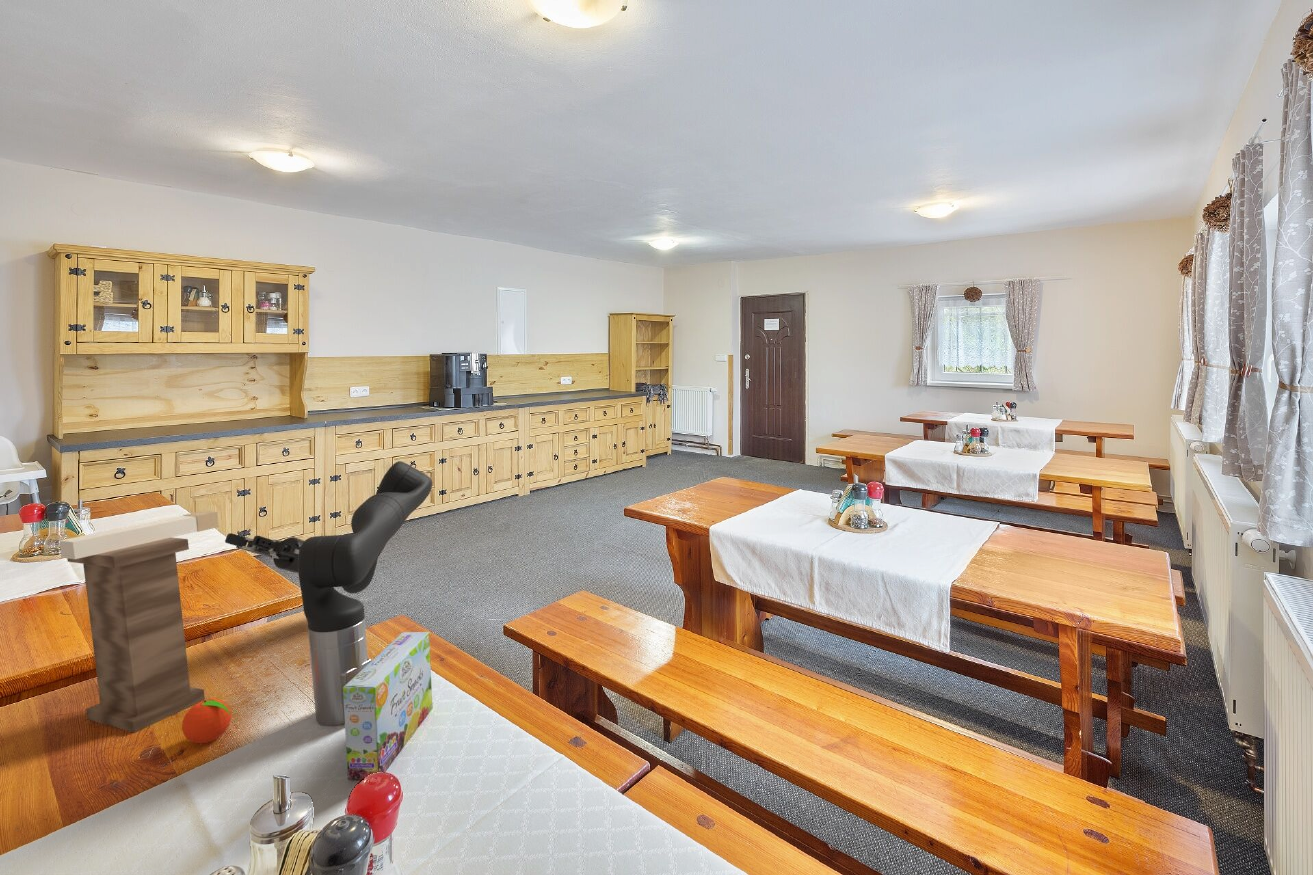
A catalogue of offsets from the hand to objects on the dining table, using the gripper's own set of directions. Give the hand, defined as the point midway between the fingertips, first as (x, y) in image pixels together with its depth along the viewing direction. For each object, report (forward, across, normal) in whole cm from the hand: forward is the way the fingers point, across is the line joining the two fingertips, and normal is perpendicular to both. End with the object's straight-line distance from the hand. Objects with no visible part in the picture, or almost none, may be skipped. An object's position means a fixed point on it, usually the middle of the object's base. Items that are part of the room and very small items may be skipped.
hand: (240, 538), depth 134 cm
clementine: (+6, +23, +36) cm, 43 cm away
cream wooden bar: (+17, 0, +5) cm, 18 cm away
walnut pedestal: (+4, 0, +34) cm, 35 cm away
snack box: (-2, +54, +31) cm, 62 cm away
